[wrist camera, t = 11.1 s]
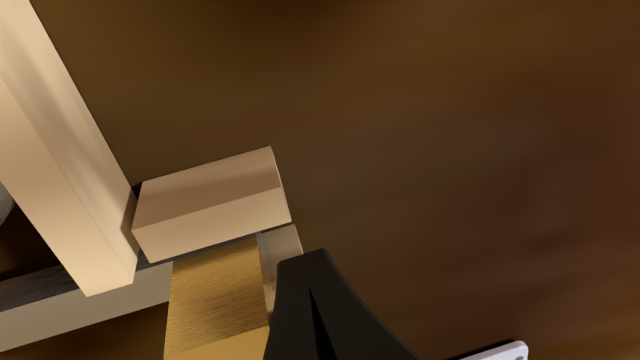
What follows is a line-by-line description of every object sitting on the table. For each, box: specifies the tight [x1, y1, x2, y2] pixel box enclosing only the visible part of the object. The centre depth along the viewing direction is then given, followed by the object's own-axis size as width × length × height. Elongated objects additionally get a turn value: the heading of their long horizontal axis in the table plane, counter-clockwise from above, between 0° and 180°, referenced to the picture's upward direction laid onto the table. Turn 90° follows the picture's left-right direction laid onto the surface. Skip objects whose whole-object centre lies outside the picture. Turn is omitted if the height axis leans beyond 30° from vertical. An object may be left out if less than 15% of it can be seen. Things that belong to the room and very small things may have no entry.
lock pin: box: [0, 231, 274, 360], centre depth 12 cm, size 1×11×5 cm, turn 102°
